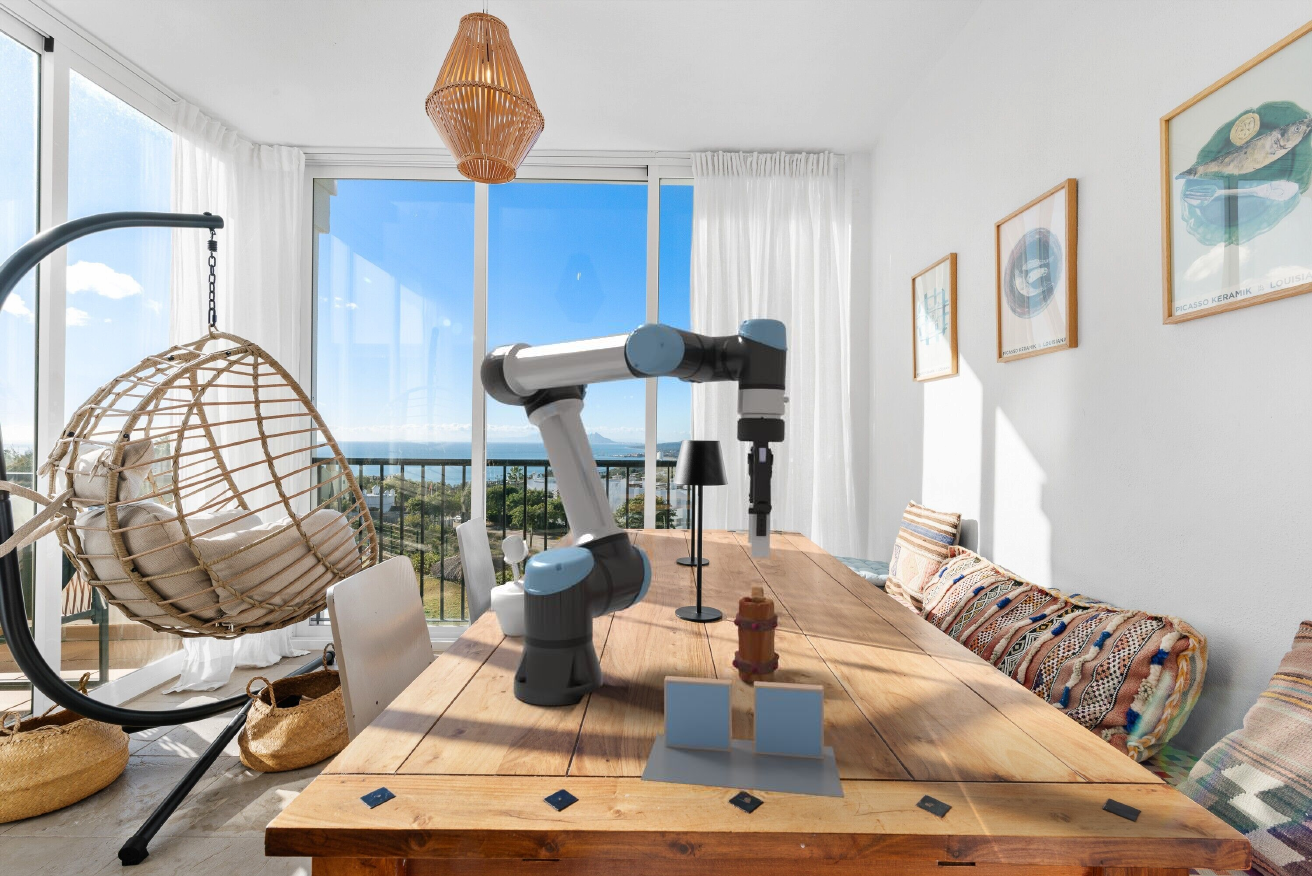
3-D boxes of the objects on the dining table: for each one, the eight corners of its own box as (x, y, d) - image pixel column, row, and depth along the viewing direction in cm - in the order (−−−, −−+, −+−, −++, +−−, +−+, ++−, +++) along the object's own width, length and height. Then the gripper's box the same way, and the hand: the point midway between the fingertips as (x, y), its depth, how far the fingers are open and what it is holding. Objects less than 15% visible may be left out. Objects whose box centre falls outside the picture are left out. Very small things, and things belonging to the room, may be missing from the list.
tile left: (664, 746, 90) (664, 680, 90) (665, 741, 91) (666, 675, 92) (730, 752, 88) (731, 684, 88) (731, 746, 90) (731, 679, 90)
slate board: (640, 789, 81) (640, 779, 81) (657, 742, 94) (657, 733, 94) (843, 807, 77) (843, 797, 77) (832, 755, 90) (832, 746, 90)
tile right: (753, 753, 88) (753, 685, 88) (754, 748, 90) (754, 681, 90) (823, 759, 86) (823, 689, 86) (822, 753, 88) (822, 685, 88)
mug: (778, 690, 114) (778, 602, 114) (730, 686, 115) (731, 599, 116) (780, 662, 128) (780, 584, 128) (737, 659, 130) (737, 582, 130)
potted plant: (534, 641, 141) (534, 523, 141) (482, 639, 143) (482, 522, 143) (552, 625, 153) (552, 517, 154) (504, 623, 155) (504, 516, 155)
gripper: (792, 415, 94) (788, 565, 94) (778, 419, 119) (776, 538, 119) (738, 414, 95) (735, 563, 95) (736, 418, 119) (733, 536, 119)
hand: (758, 549), depth 107 cm, fingers open, 13 cm apart
